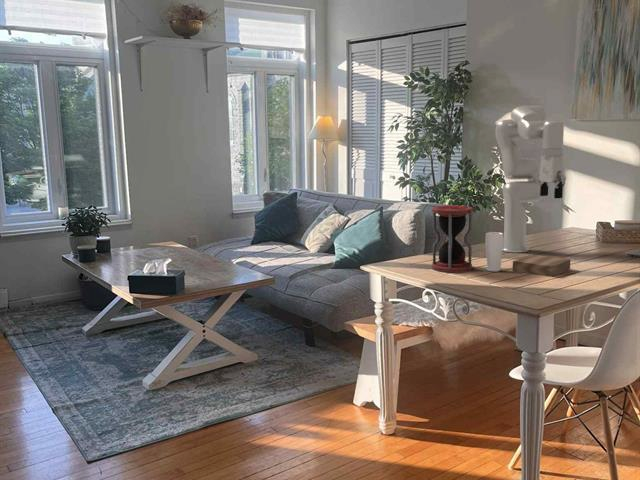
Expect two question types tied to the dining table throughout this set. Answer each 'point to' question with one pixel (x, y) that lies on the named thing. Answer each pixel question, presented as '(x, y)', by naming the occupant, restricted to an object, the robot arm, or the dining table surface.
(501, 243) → the white tapered cylinder
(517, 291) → the dining table surface
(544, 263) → the walnut block
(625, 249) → the dining table surface
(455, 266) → the hourglass
